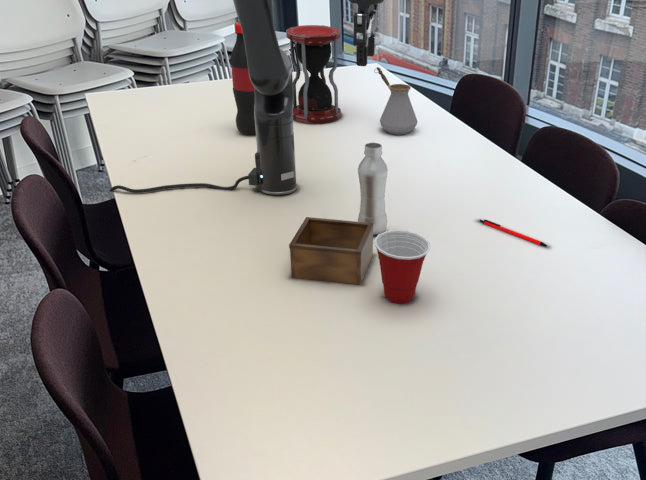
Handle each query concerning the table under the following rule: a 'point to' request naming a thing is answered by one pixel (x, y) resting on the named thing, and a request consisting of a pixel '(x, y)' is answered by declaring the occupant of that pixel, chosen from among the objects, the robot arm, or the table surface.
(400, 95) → the coffee pot
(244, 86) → the cola bottle
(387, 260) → the plastic cup
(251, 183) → the robot arm
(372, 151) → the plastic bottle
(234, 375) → the table surface
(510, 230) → the pen
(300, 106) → the hourglass
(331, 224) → the wooden box
